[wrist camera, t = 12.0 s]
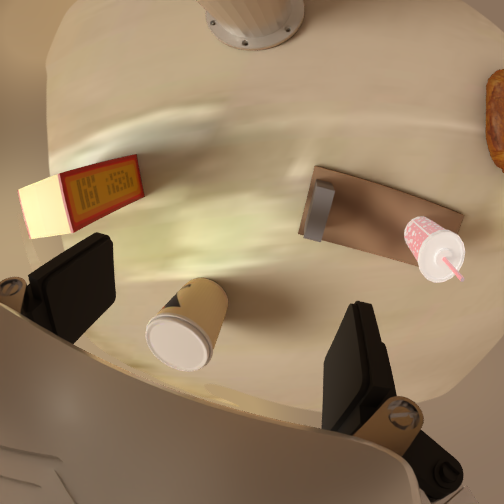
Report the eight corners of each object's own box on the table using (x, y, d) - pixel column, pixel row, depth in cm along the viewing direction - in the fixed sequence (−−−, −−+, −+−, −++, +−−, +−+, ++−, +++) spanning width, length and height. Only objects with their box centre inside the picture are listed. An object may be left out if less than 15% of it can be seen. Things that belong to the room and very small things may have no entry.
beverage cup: (409, 259, 37) (446, 317, 24) (389, 225, 35) (427, 274, 23) (442, 235, 34) (491, 284, 22) (424, 200, 33) (476, 237, 20)
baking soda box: (99, 204, 43) (27, 240, 28) (91, 166, 40) (15, 190, 26) (144, 196, 41) (71, 233, 26) (136, 154, 38) (57, 174, 24)
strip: (314, 165, 34) (315, 171, 29) (461, 214, 32) (480, 227, 27) (298, 231, 38) (296, 248, 33) (439, 270, 36) (453, 290, 31)
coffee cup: (191, 261, 43) (154, 304, 33) (244, 294, 44) (222, 346, 33) (170, 302, 47) (136, 347, 37) (218, 331, 48) (194, 382, 37)
